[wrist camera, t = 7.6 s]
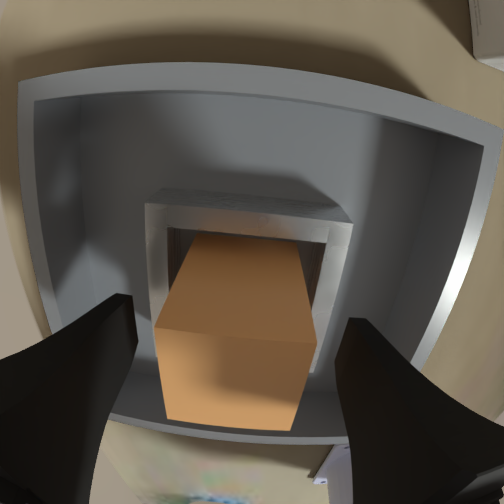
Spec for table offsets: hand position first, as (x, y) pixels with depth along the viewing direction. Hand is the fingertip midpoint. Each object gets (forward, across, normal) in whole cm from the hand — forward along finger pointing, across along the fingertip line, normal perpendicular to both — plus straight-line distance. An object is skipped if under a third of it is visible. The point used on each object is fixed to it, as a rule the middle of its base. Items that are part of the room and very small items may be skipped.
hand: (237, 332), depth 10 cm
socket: (+4, 0, 0) cm, 5 cm away
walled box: (+4, 0, 0) cm, 5 cm away
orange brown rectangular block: (+4, 0, 0) cm, 4 cm away
